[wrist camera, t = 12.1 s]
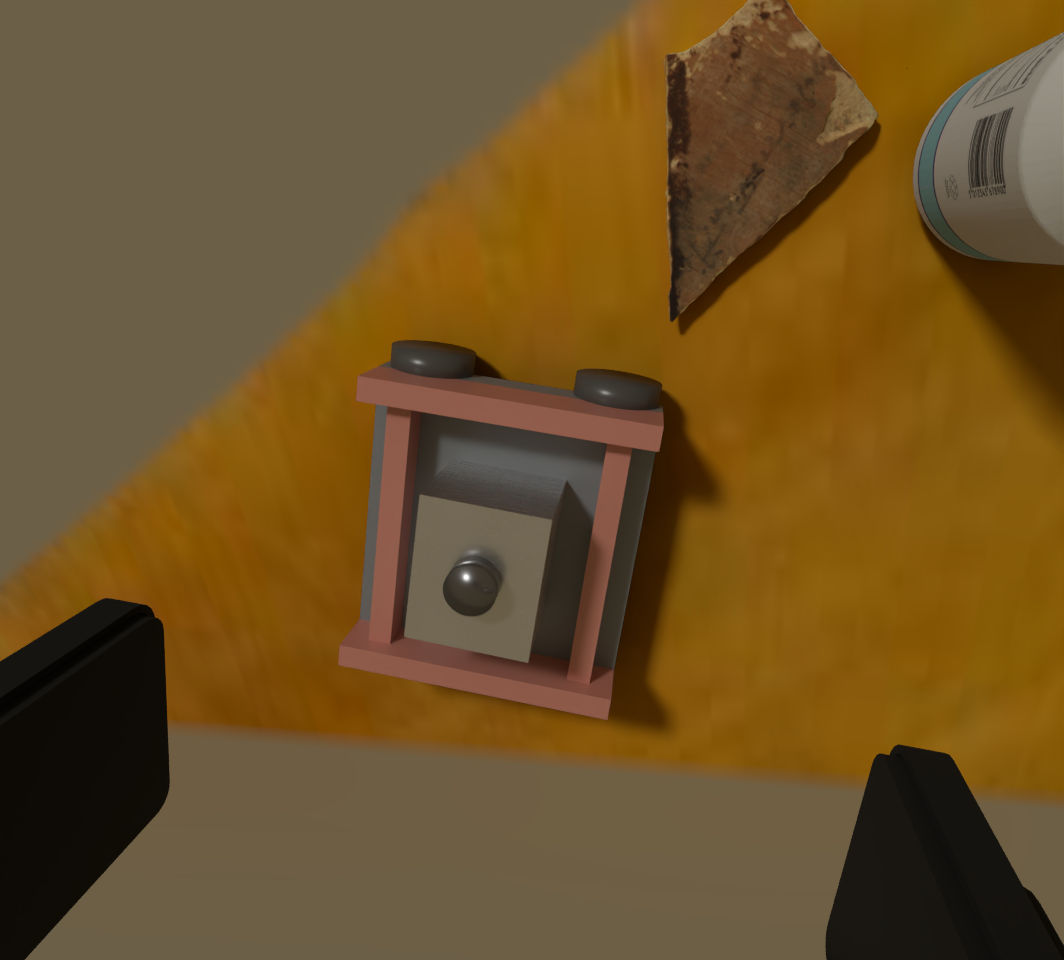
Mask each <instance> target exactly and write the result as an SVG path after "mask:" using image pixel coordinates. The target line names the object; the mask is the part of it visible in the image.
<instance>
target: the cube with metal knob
mask: <svg viewBox="0 0 1064 960" xmlns="http://www.w3.org/2000/svg"><path fill="white" fill-rule="evenodd" d="M566 481H567V480H563V479H558V478H553V477H547V476H542V475H537V474H531V473H526V472H521V471H515V470H510V469H505V468H499V467H494V466H489V465H483V464H478V463H473V462H467V461H462V460H457V459H452V460H451V461H450V462H449V463H448V464H447V465H446V466H445V467H444V468H443V469H442V471H441V472H440V473H439V474H438V475H437V476H436V477H435V478H434V479H433V480H432V481H431V483H430V484H429V485H428V486H427V487H426V488H425V489H424V490H423V491H422V492H421V493H420V496H419V505H418V514H417V523H416V532H415V541H414V550H413V559H412V568H411V577H410V586H409V595H408V604H407V614H406V623H405V632H404V637H408V638H412V639H417V640H422V641H427V642H431V643H436V644H441V645H445V646H450V647H455V648H460V649H464V650H469V651H474V652H479V653H483V654H488V655H493V656H498V657H502V658H507V659H512V660H516V661H521V662H526V663H528V662H529V659H530V655H531V652H532V648H533V645H534V642H535V638H536V635H537V632H538V628H539V625H540V621H541V618H542V615H543V611H544V608H545V603H546V598H547V592H548V586H549V580H550V574H551V568H552V563H553V557H554V551H555V545H556V539H557V533H558V528H559V522H560V516H561V510H562V504H563V498H564V493H565V487H566Z"/></svg>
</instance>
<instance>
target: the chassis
mask: <svg viewBox="0 0 1064 960" xmlns="http://www.w3.org/2000/svg"><path fill="white" fill-rule="evenodd" d="M475 360H476V352H475V351H473V350H471V349H468V348H465V347H461V346H457V345H452V344H446V343H440V342H431V341H418V340H404V341H396V342H393V343H392V352H391V361H389V362H387V363H385V364H383V365H380V366H378V367H376V368H374V369H372V370H370V371H368V372H365V373H363V374H361V375H359V376H358V381H357V396H356V401H360V402H366V403H372V404H376V412H375V426H374V439H373V452H372V466H371V479H370V492H369V506H368V519H367V532H366V546H365V559H364V572H363V585H362V599H361V612H360V620H359V621H358V622H357V624H356V625H355V626H354V627H353V629H352V630H351V631H350V633H349V634H348V635H347V637H346V638H345V639H344V640H343V642H342V643H341V644H340V650H339V665H341V666H346V667H350V668H355V669H360V670H365V671H370V672H375V673H380V674H385V675H390V676H394V677H399V678H404V679H409V680H414V681H419V682H424V683H429V684H434V685H438V686H443V687H448V688H453V689H458V690H463V691H468V692H473V693H478V694H482V695H487V696H492V697H497V698H502V699H507V700H512V701H517V702H522V703H526V704H531V705H536V706H541V707H546V708H551V709H556V710H561V711H566V712H570V713H575V714H580V715H585V716H590V717H595V718H600V719H605V720H607V719H608V714H609V708H610V703H611V696H612V685H613V675H614V667H615V662H616V656H617V651H618V646H619V641H620V635H621V630H622V625H623V620H624V615H625V609H626V604H627V599H628V594H629V589H630V583H631V578H632V573H633V568H634V563H635V557H636V552H637V547H638V542H639V536H640V531H641V526H642V521H643V516H644V510H645V505H646V500H647V495H648V490H649V484H650V479H651V474H652V469H653V464H654V458H655V453H656V452H659V450H660V445H661V440H662V434H663V429H664V418H663V405H658V404H659V399H660V394H661V389H662V384H661V383H660V382H658V381H656V380H654V379H651V378H648V377H644V376H641V375H637V374H632V373H627V372H621V371H614V370H606V369H581V370H578V371H577V375H576V381H575V388H574V391H571V390H565V389H559V388H553V387H547V386H540V385H534V384H528V383H522V382H516V381H510V380H504V379H498V378H492V377H485V376H479V375H474V369H475ZM452 459H457V460H462V461H467V462H473V463H478V464H483V465H489V466H494V467H499V468H505V469H510V470H515V471H521V472H526V473H531V474H537V475H542V476H547V477H553V478H558V479H563V480H567V481H566V487H565V493H564V498H563V504H562V510H561V516H560V522H559V528H558V533H557V539H556V545H555V551H554V557H553V563H552V568H551V574H550V580H549V586H548V592H547V598H546V603H545V608H544V611H543V615H542V618H541V621H540V625H539V628H538V632H537V635H536V638H535V642H534V645H533V648H532V652H531V655H530V659H529V662H528V663H526V662H521V661H516V660H512V659H507V658H502V657H498V656H493V655H488V654H483V653H479V652H474V651H469V650H464V649H460V648H455V647H450V646H445V645H441V644H436V643H431V642H427V641H422V640H417V639H412V638H408V637H404V632H405V623H406V614H407V604H408V595H409V586H410V577H411V568H412V559H413V550H414V541H415V532H416V523H417V514H418V505H419V496H420V493H421V492H422V491H423V490H424V489H425V488H426V487H427V486H428V485H429V484H430V483H431V481H432V480H433V479H434V478H435V477H436V476H437V475H438V474H439V473H440V472H441V471H442V469H443V468H444V467H445V466H446V465H447V464H448V463H449V462H450V461H451V460H452Z"/></svg>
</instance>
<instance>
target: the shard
mask: <svg viewBox="0 0 1064 960" xmlns="http://www.w3.org/2000/svg"><path fill="white" fill-rule="evenodd" d="M663 61H664V71H665V75H666V80H665V82H666V124H665V125H666V140H667V155H668V159H667V189H666V193H665V194H666V198H667V211H666V213H667V238H668V254H669V264H670V273H671V287H670V290H669V294H668V300H669V318H670V321H671V322H673V321H674V320H675V319H676V317H677V316H679V315H680V314H681V313H682V312H683V311H685V310H686V308H687V307H688V306H689V305H690V304H691V303H692V302H693V301H694V300H695V299H696V298H697V297H699V296H700V295H701V294H702V293H703V292H704V291H705V290H706V289H707V287H708V286H709V285H710V284H711V283H712V281H713V280H714V279H715V278H716V277H717V275H718V274H720V273H721V272H722V271H724V269H725V268H726V267H727V266H728V265H729V264H731V263H732V262H733V261H734V260H735V259H736V258H737V257H738V256H739V255H740V254H741V253H742V252H744V251H745V250H746V249H747V248H749V247H750V246H752V245H753V244H754V243H756V242H757V241H759V240H760V239H761V238H762V237H763V236H764V235H765V234H766V233H767V232H768V231H769V230H770V229H772V227H773V226H774V225H775V224H776V223H777V222H778V221H779V220H780V219H781V218H782V217H783V216H785V215H786V214H787V213H789V212H790V211H791V210H793V209H794V208H795V207H796V206H797V205H798V204H799V203H800V201H802V200H803V199H804V198H805V197H806V195H807V194H808V192H809V191H810V190H812V189H813V187H815V186H816V185H818V184H819V183H821V181H822V180H823V179H824V177H825V176H826V175H827V174H828V173H829V172H830V171H831V170H832V169H833V168H834V167H835V166H836V165H837V164H838V163H839V162H840V161H841V160H842V159H843V157H844V154H845V152H846V150H847V149H848V147H849V146H850V145H852V144H853V143H854V142H855V141H856V140H857V139H859V138H860V137H861V136H862V135H863V134H864V133H865V132H867V131H868V130H869V129H870V128H871V127H872V125H873V123H874V121H875V119H876V118H877V117H878V113H877V112H876V111H875V110H874V108H873V106H872V104H871V103H870V102H869V100H868V99H867V98H865V96H864V94H863V93H862V91H861V90H860V89H859V88H858V86H857V84H856V82H855V80H854V78H853V77H852V76H851V75H850V74H849V73H848V72H847V71H846V70H845V69H844V68H843V67H842V66H841V64H840V63H839V62H838V61H837V60H836V59H835V58H834V56H833V55H832V54H831V53H830V52H828V51H826V50H825V49H824V48H823V47H822V45H821V43H820V42H819V40H818V39H817V38H816V37H815V36H814V35H813V34H812V32H811V31H810V30H809V29H808V28H807V27H806V26H805V25H804V24H803V23H802V22H801V21H800V19H799V18H798V17H797V16H796V15H795V13H794V10H793V8H792V6H791V5H790V3H789V2H788V1H787V0H748V1H747V2H746V3H745V5H744V6H743V7H742V8H741V9H740V10H738V11H737V12H736V13H735V15H733V16H732V17H731V18H730V19H729V20H728V21H727V22H726V23H725V24H724V25H723V26H722V27H720V28H719V29H718V30H717V31H716V32H715V33H713V34H712V35H710V36H709V37H707V38H705V39H704V40H702V41H701V42H699V43H698V44H696V45H694V46H693V47H691V48H690V49H689V50H687V51H684V52H681V53H671V54H667V55H666V56H665V58H664V60H663Z"/></svg>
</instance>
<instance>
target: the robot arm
mask: <svg viewBox="0 0 1064 960" xmlns="http://www.w3.org/2000/svg"><path fill="white" fill-rule="evenodd" d="M169 783H170V779H169V753H168V726H167V701H166V675H165V650H164V629H163V624H162V622H161V620H159V619H158V618H155V616H154V613H153V611H152V609H151V608H150V607H148V606H147V605H143V604H138V603H132V602H127V601H121V600H116V599H109V598H105V599H102V600H100V601H98V602H96V603H94V604H93V605H91V606H89V607H88V608H86V609H85V610H83V611H81V612H80V613H78V614H77V615H75V616H73V617H72V618H70V619H68V620H67V621H65V622H64V623H62V624H60V625H59V626H57V627H55V628H54V629H52V630H51V631H49V632H47V633H46V634H44V635H42V636H41V637H39V638H38V639H36V640H34V641H33V642H31V643H30V644H28V645H26V646H25V647H23V648H21V649H20V650H18V651H17V652H15V653H13V654H12V655H10V656H8V657H7V658H5V659H4V660H2V661H0V960H25V959H26V958H27V956H28V955H29V954H30V953H31V952H32V951H33V950H34V949H35V948H36V947H37V945H38V944H39V943H40V942H41V941H42V940H43V939H44V938H45V937H46V935H47V934H48V933H49V932H50V931H51V930H52V929H53V928H54V927H55V925H56V924H57V923H58V922H59V921H60V920H61V919H62V918H63V917H64V916H65V915H66V914H67V912H68V911H69V910H70V909H71V908H72V907H73V906H74V905H75V904H76V902H77V901H78V900H79V899H80V898H81V897H82V896H83V895H84V894H85V893H86V891H87V890H88V889H89V888H90V887H91V886H92V885H93V884H94V883H95V882H96V880H97V879H98V878H99V877H100V876H101V875H102V874H103V873H104V872H105V871H106V869H107V868H108V867H109V866H110V865H111V864H112V863H113V862H114V860H116V858H117V857H118V856H119V855H120V854H121V853H122V852H123V851H124V850H125V848H126V847H127V846H128V845H129V844H130V843H131V842H132V841H133V840H134V839H135V837H136V836H137V835H138V834H139V833H140V832H141V831H142V830H143V829H144V828H145V827H146V825H147V824H148V823H149V822H150V821H151V820H152V819H153V818H154V817H155V816H156V814H157V813H158V812H159V810H160V809H161V808H162V806H163V804H164V802H165V800H166V797H167V794H168V791H169ZM826 958H827V960H1064V945H1063V943H1062V942H1061V940H1060V938H1059V936H1058V934H1057V933H1056V931H1055V929H1054V927H1053V926H1052V924H1051V922H1050V920H1049V918H1048V917H1047V915H1046V913H1045V911H1044V910H1043V908H1042V906H1041V904H1040V903H1039V901H1038V900H1037V899H1036V897H1035V896H1034V895H1033V893H1032V892H1030V891H1029V890H1028V889H1026V888H1025V887H1023V886H1022V884H1021V882H1020V881H1019V879H1018V877H1017V875H1016V873H1015V871H1014V869H1013V868H1012V866H1011V864H1010V862H1009V860H1008V858H1007V857H1006V855H1005V853H1004V851H1003V850H1002V848H1001V846H1000V844H999V842H998V840H997V838H996V837H995V835H994V833H993V831H992V829H991V828H990V826H989V824H988V822H987V820H986V819H985V817H984V815H983V813H982V811H981V809H980V807H979V806H978V804H977V802H976V800H975V798H974V796H973V795H972V793H971V791H970V789H969V787H968V786H967V784H966V782H965V780H964V778H963V776H962V775H961V773H960V771H959V769H958V767H957V766H956V764H955V762H954V760H953V759H952V758H951V756H950V755H948V754H946V753H942V752H936V751H931V750H925V749H920V748H915V747H909V746H904V745H896V746H894V748H893V749H892V751H891V753H890V755H885V754H878V755H877V756H876V757H875V758H874V761H873V764H872V767H871V771H870V774H869V778H868V781H867V785H866V789H865V792H864V796H863V800H862V803H861V807H860V810H859V814H858V817H857V821H856V825H855V828H854V832H853V835H852V839H851V843H850V846H849V850H848V853H847V857H846V860H845V864H844V868H843V872H842V875H841V878H840V882H839V886H838V890H837V893H836V896H835V900H834V904H833V907H832V911H831V914H830V919H829V922H828V926H827V932H826Z"/></svg>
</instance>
